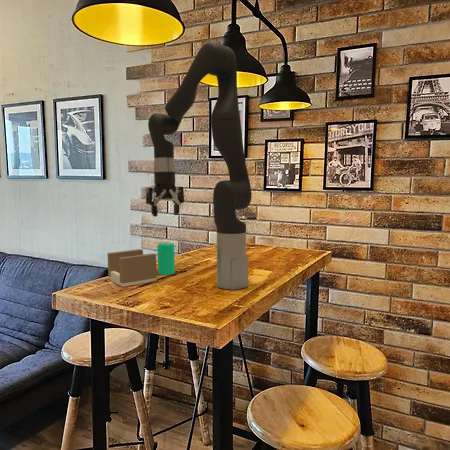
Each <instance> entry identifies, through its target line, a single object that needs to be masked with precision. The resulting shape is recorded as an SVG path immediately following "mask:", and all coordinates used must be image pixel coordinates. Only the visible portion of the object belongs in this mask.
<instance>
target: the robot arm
mask: <svg viewBox="0 0 450 450" xmlns="http://www.w3.org/2000/svg"><path fill="white" fill-rule="evenodd" d="M237 66H238V65H237V57H236V54H235V51H234V49H232V47H231V48H230V47H229V46H226V45H223V44H221V43H218V42H214V41H207V42H205V43H204V44H203V45H202V46H201V47H200V49H199V50H198V52H197V54H196V55H195V56H194V59H193V61H192V63H191V64H190V66H189V68H188V70H187V72H186V75H185V76H184V78H183V80H182V81H181V84H180V85H179V87H178V88H177V89H176V91H175V92H174V93H173V95H171V97H170V98H169V100H168V101H167V103H166V104H165V107H164V111H165V112H166V114H163V113H153V114H151V115H150V117H149V119H148V122H147V123H148V124H147V125H148V126H147V127H148V131H149V134H150V138H151V141H152V145H153V156H154V158H153V160H154V161H153V172H154V173H153V175H154V177H153V179H154V180H153V181H154V187H151V186H150V187H149V186H148V187H146V189H145V190H146V191H145V192H146V193H145V204H147V205H149V206H150V207H151V215H152V216H153V217H158V206H157V205H158V204H159V202H160V201H161V200H166V199H167V200H171V201H172V203H173V204H174V205H173V214H174V216H179V214H180V211H181V210H180V205H181V204H183V203H185V194H184V187H183V186H177V187H176V163H175V154H174V153H175V150H174V143H173V142H172V141H170V140H167V138H166V137H165V135H167V136H171V135H174V134H175V133H176V132H177V131H178V130H179V128H180V125H181V123H182V121H183V118H184V116H185V115H186V113H188V111H189V110H190V109H191V108H192V107H193V105H194V103H195V101H196V98H197V91H198V87H199V84H200V82H202V80H203V79H204V78H205V77H206V76H208V75H211V76H215V77H216V80H217V88H218V94H217V98H216V102H215V104H214V106H213V109H212V112H211V115H210V126H211V127H210V128H211V137H212V141H213V144H214V145H215V147H216V149H217V151H218V152H219V154H220V156H221V157H222V159H223V161H224V162H225V164H226V167H227V170H228V171H227V172H228V176H229V177H228V178H229V179H228V180H220V181H217V183H216V184H215V186H214V190H213V193H212V202H213V204H212V206H213V219H214V223H215V227H216V286H217V288H220V289H225V290H231V291H235V290H239V289H244V288H248V287H249V258H248V256H247V224H246V223H245V222H244V221H241V220H240V219H239V218H237V213H236V212H237V211H239V210H245V209H247V208H248V207H249V206H250V204H251V202H252V195H253V194H252V186H251V182H250V178H249V173H248V168H247V163H246V157H245V149H244V143H243V142H244V141H243V131H242V130H243V129H242V122H241V116H240V107H239V97H238V75H237V73H238V68H237ZM154 193H155V195H154V197H153V194H154ZM175 193H177V196H176V194H175Z"/></svg>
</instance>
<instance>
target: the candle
mask: <svg viewBox="0 0 450 450" xmlns="http://www.w3.org/2000/svg"><path fill="white" fill-rule="evenodd" d="M175 259H176V258H175V244H174V243H168V242H162V243H158V244H157V275H161V276H169V275H174V274H176V273H175V272H176V270H175V263H176V262H175Z"/></svg>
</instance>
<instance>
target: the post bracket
mask: <svg viewBox="0 0 450 450" xmlns="http://www.w3.org/2000/svg"><path fill="white" fill-rule="evenodd" d="M107 272H108V273H107V275H108V280H109V281H111V282H113V283H115V284H117V285H119V286H120V287H128V286H135V285H139V284H141V285H142V284H147V283H152V282H157V281H158V280H157V279H158V278H157V275H158V268H157V254H156V253H146V254H144V250H143V249H141V248H138V249H132V250H131V249H129V250H121V251H113V252H112V251H111V252H107Z"/></svg>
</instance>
